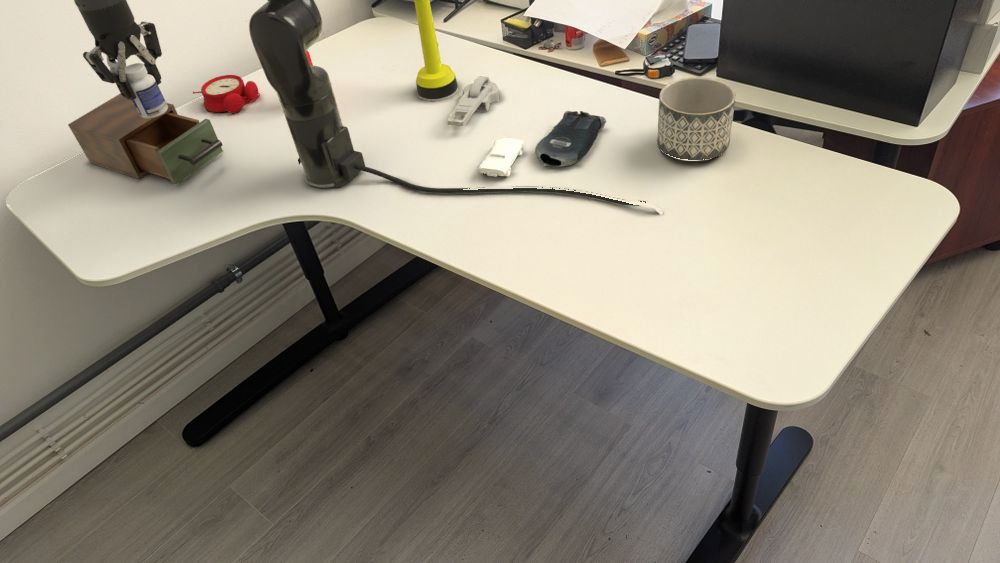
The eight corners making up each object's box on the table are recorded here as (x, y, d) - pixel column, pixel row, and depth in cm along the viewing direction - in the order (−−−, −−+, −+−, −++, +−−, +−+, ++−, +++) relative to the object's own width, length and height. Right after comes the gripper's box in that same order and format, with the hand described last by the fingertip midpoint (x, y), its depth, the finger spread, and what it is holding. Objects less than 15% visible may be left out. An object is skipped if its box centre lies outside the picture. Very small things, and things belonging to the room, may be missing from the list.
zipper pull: (438, 133, 144) (435, 114, 141) (470, 88, 156) (467, 70, 153) (475, 137, 141) (472, 118, 138) (505, 91, 153) (503, 72, 150)
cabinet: (191, 143, 151) (173, 104, 145) (139, 179, 143) (118, 139, 137) (142, 129, 157) (122, 91, 151) (90, 163, 149) (67, 124, 143)
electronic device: (559, 129, 143) (526, 161, 132) (563, 103, 139) (530, 134, 129) (603, 143, 140) (573, 177, 129) (608, 117, 136) (578, 149, 126)
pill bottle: (173, 104, 137) (153, 61, 131) (159, 119, 133) (138, 75, 127) (149, 104, 138) (128, 61, 132) (134, 119, 135) (112, 75, 128)
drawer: (240, 156, 143) (227, 123, 138) (193, 190, 136) (178, 158, 131) (174, 137, 152) (159, 106, 147) (127, 169, 144) (109, 138, 139)
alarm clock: (218, 71, 166) (260, 66, 158) (232, 96, 170) (274, 93, 161) (185, 93, 160) (226, 89, 152) (200, 118, 163) (241, 116, 155)
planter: (722, 171, 125) (729, 118, 118) (649, 161, 129) (651, 110, 122) (733, 132, 133) (740, 80, 126) (665, 124, 138) (668, 74, 130)
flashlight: (425, -17, 135) (448, -35, 141) (385, -20, 138) (408, -37, 144) (445, 103, 152) (465, 83, 158) (409, 98, 155) (429, 78, 161)
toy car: (527, 147, 137) (526, 131, 135) (505, 183, 129) (503, 168, 127) (500, 143, 139) (498, 128, 136) (477, 179, 131) (474, 164, 128)
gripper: (78, 20, 115) (126, 113, 127) (148, -15, 124) (187, 75, 136) (49, 14, 119) (99, 106, 130) (120, -20, 127) (160, 69, 139)
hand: (144, 90), depth 133 cm, fingers closed on pill bottle, 5 cm apart
